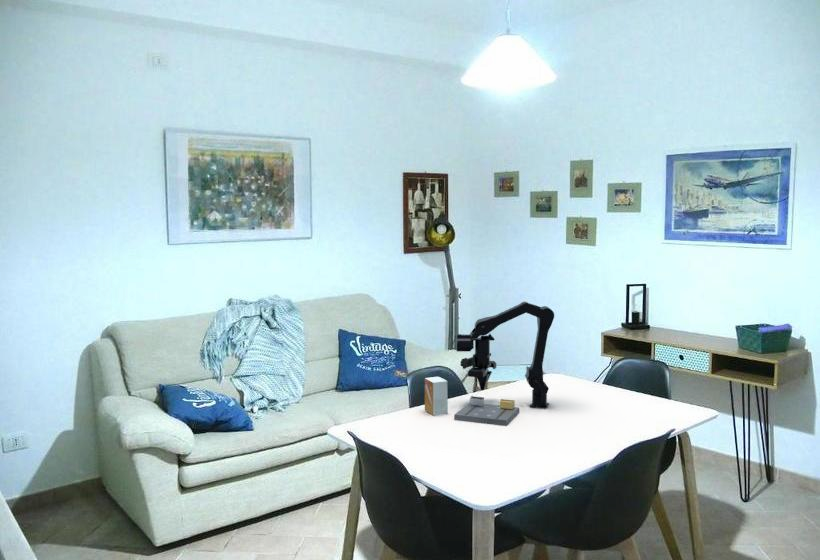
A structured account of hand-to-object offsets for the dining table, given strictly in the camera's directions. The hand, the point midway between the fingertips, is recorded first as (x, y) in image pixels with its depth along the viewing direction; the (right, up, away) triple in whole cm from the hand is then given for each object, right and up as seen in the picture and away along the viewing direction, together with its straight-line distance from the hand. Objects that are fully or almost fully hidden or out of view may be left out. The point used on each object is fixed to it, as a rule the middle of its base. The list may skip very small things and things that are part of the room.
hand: (482, 390), depth 287 cm
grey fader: (-3, -5, -6) cm, 8 cm away
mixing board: (0, -8, -13) cm, 15 cm away
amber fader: (+8, -5, -10) cm, 14 cm away
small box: (-19, -8, -7) cm, 21 cm away
